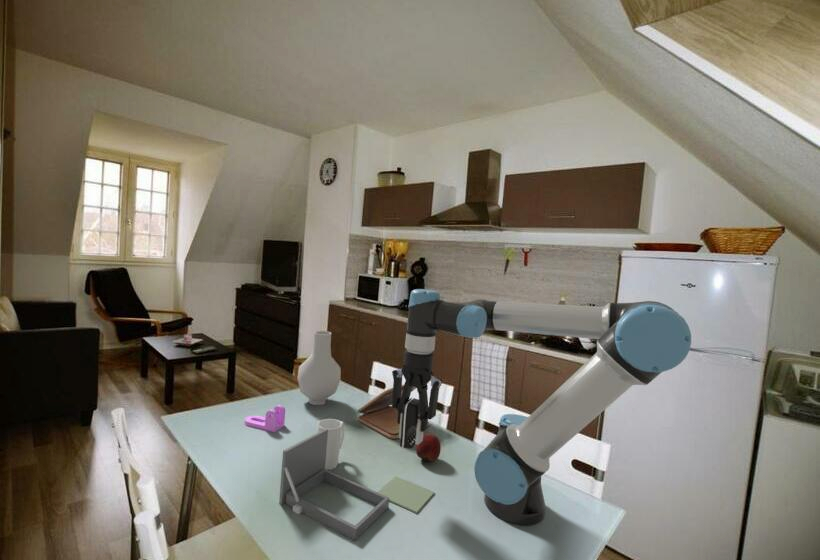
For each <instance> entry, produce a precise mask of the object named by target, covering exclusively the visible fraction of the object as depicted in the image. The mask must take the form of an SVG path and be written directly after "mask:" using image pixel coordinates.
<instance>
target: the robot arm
mask: <svg viewBox="0 0 820 560" xmlns="http://www.w3.org/2000/svg"><path fill="white" fill-rule="evenodd" d="M409 295H410V296H409V301H408V306H407V307H408V314H407V325H406V332H405V333H406V334H405V342H404V348H405V350H404V351H403V353H404V354H403V365H402V367H401V368H396V369H394V370H392V371H391V375H392V379H393V385H392V388H393V397H392V405H391V406H392V407H393V408H396V409H397V410H398V420H397V422H398V424H400V428H399V438H398V439H399V440H401V425H402V412H403V406H404V404H405V402H407V401H408V400H409V399H410V398H411V393H412V392H413V391H412V388H413V386H415V387H416V389H417V390H416V391H417V393H418V399H419V404H420V415H421V417H420V418H418V423H417V431H416V441H415V445H416V446H417V445H418V444H420V443H421V442H422V441H423V435H424V433H425V432H426V431H427V430H428V427H427V424H428V422H429V420H432V419H433V418H434V417H436V415H437V408H438V401H439V395H440V393H439V392H440V388H441V385H443V380H442V379H441V378H440V379H438V378H436V376H434V372H433V366H434V356H435V354H434V351H435V346H436V337H437V331H438V332H444V333H448V334H452V335H456V336H460V337H464V338H474V339H479V338H480V337H481V336H483V333H484V332H485V330H487V331H503V332H513V333H514V332H515V333H525V334H527V333H528V334H538V335H545V336H548V335H549V336H559V337H568V338H569V337H571V338H578V339H589V340H590V339H591V340H592V339H593V340H596V352H595V353H594V354H593V355H592V356H591V357H590V358H589V359H588V360H587V361H586V362H585V363H584V364H582V365H581V366H580V367H579V369H577V370H576V371H575V372H574V373H573V374H572V375H571V376H570V377H569V378H568V379H567V380H566V381H565V382H564V383H562V385H560V387H558V388H557V389H556V390H555V391H554V392H553V393H552V394H551V395H550V396H548V397H547V399H546V400H545V401H543V402H542V404H540V405H539V406H538V407H537V408H536V409H535V410H534V411H533V412H532V413H531V414H530V415H529V416H525V415H522V414H521V415H520V414H515V413H505V414H502V415H501V417H500V420H499V422H498V425H499V427H498V432H497V434H496V435H495V436H494V437H493V439H492V440H491V441H490V443H489V442H488V444H487V446H486V447H485V448H484V449H483V450H482V451H480V452H479V453H478V455H477V458H476V460H475V463H474V467H473V469H474V470H473V471H474V476H475V480H476V482H477V485H478V486H479V488H480V490H481V491H482V492H483V494H484V497H483V498H484V499H483V500H484V504H485V506H486V508H487V509H488V511H490V513H492V514H493V515H494V516H495V517H497V518H498V519H501V520H503V521H505V522H508V523H511V524H515V525H518V526H519V525H520V526H532V525H536V524H539V523H540V522H541V521H543V520H544V517H545V513H546V512H545V511H546V502H545V498H544V491H543V487H542V476H543V475H544V474H546V473H547V472H548V471H549V469H550V458H551V457H553V455H555V454H556V453H557V452H558V451H559V450H561V449H562V448H563V447H564V446H565V445H566V444H567V443H569V441H570V440H572V439H573V438H574V437H575V436H576V435H578V434H579V433H580V432H581V431H582V430H583V429H584V428H586V427H587V426H588V425H589V424H590V423H591V422H592V421H594V420H595V419H596V418H597V417H598V416H599V415H601V414H602V413H603V411H605V410H606V409H607V408H608V407H610V406H611V405H612V404H613V403H614V402H616V400H619V398H620V397H621V396H622V395H623V394H625V393H626V392H627V391H628V390H629V389H630V388H631V387H633V386H636V385H637V386H647V385H648V384H650V383H651V382H652V381H654V380H655V379H656V378H657V377H658V376H660V374H662V373H664V372H667V371H670V370H672V369H675V368H676V367H678V366H679V365H680V364H681V363H683V362H684V360H686V358H687V356H688V355H689V353H690V349H691V346H692V333H691V330H690V327H689V324H688V323H687V322H686V320H685V318H684V317H683V316H682V315H680V313H678V311H676V310H675V309H673V308H672V307H670V306H669V305H667V304H665V303H662V302H658V301H652V300H644V301H635V302H608V303H607V304H606V305H603V306H597V305H594V306H593V305H592V306H591V305H577V304H554V303H535V302H520V301H519V302H517V301H515V302H513V301H495V300H487V299H476V300H471V301H467V302H465V301H464V302H453V301H446V300H443V299H441V294H440V292H439V291H438V290H432V289H424V288H416V289H413V290H411V291H410V293H409ZM403 378H404V379H405V382H404V384H403ZM429 383H430V386H431V388H430V392H429V399H428V384H429ZM402 385H404V390H403V393H402V397H401V389H402ZM411 391H412V392H411Z"/></svg>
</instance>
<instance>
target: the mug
mask: <svg viewBox="0 0 820 560" xmlns="http://www.w3.org/2000/svg"><path fill="white" fill-rule="evenodd" d="M324 429H328V437H327V449H326V461H325V469H326V470H328V471H331V470H334V469H335V468H337V467H338V464H339V455H340V450H341V448H342V445H343V442H344V438H345V432H346V430H345V424H344V421H341V420H340V419H335V418H326V419H325V418H323V419H322V420H320V421H318V423H317V431H316V434H317V433H318V432H320V431H322V430H324Z"/></svg>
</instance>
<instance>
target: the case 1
mask: <svg viewBox="0 0 820 560" xmlns="http://www.w3.org/2000/svg"><path fill="white" fill-rule="evenodd" d="M327 437H328V429H324V430H322V431H320V432H318V433H317V432H316V433H315V434H313V435H311V436H309V437H307V438H304V439H303V440H301V441H299V442H297V443H295V444H293V445H291V446H290V447H287V448H286V449H284V450H282V461H281V473H280V476H281V477H280V485H279V486H280V487H279V503H278V504H280V505H283V504H284V503H285V505H288V506H290V507H292V512H294V513H295V514H297V515H300V514H301V513H302V514H305V515H307V516H309V517H310V518H312V519H314V520H315V521H318V522H319V523H322V524H324V526H325V525H326V526H327V527H329V528H331V529H333V530H335V531H337V532H339V533H341V534H343V535H344V536H345V537H348V538H350V539H352V540H353V541H356V540H357V539H358V538H359V537H360V536H361V535H362V534H363V533H364V532H365V531H366V530H367V529H368V528H369V527H370V526H372V524H374V522H375V521H376V520H378V518H380V516H381V515H382V514H384V513H385V512H386V511H387V509H389V505H390V501H389V497H387V496H384V495H382V494H380V493H378V491H375V490H373V489H371V488H368V487H366V486H364V485H361V484H359V483H358V482H355V481H354V480H353V481H352V480H350V479H348V478H347V477H346V478H345V477H344V476H342V475H339V474H337V473H335V472H332V471H331V470H326V469H325V461H326V449H327ZM322 482H327V483H329V484H331V485H334V486H336V487H338V488H340V489H342V490H345V491H346V492H349V493H351V494H353V495H354V496H356V497H359V498H362V499H363V500H366V501H369V502H371V503H372V504H375V507H374V508H373V509H371V510H370V511H369V512H368V513H367V514H366V515H365V516H364V517H363V518H361V519H360V521H359V522H357V523H356V524H355V525H354V524H353V523H351V522H349V521H347V520H345V519H343V518H342V517H339V516H337V515H335V514H334V513H331V512H329V511H328V510H325V509H323V508H321V507H319V506H318V505H316V504H314V503H312V502H310V501H308V500H306V499H304V498H302V496H303V495H304V494H306V493H307V492H309V491H311V489H313V488H315V487H317V486H318V485H319V484H321V483H322Z"/></svg>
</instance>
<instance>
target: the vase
mask: <svg viewBox="0 0 820 560" xmlns="http://www.w3.org/2000/svg"><path fill="white" fill-rule="evenodd" d="M331 342H332V332H331V331H327V330H326V331H325V330H317V331H314V333H313V343H312V349H311V353H310V355H309V357H308V358H306V360H304V361H303V362H302V363H301V364H300V365H299V366H298V372H297V382H298V387H299V391H300V394H302V395H304V396H305V397H306V398H307V399H308V403H309V404H310V405H314V406H321V405H324V404H326V401H327V399H328V398H330V397H332V396H333V395H334V394H336V393H337V390H338V387H339V385H340V382H341V375H342V373H341V369H342V368H341V367H340V365H339V364H338V363H337V362H336V360H335V359H334V358H333V357H332V349H331V348H332V346H331Z"/></svg>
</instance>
